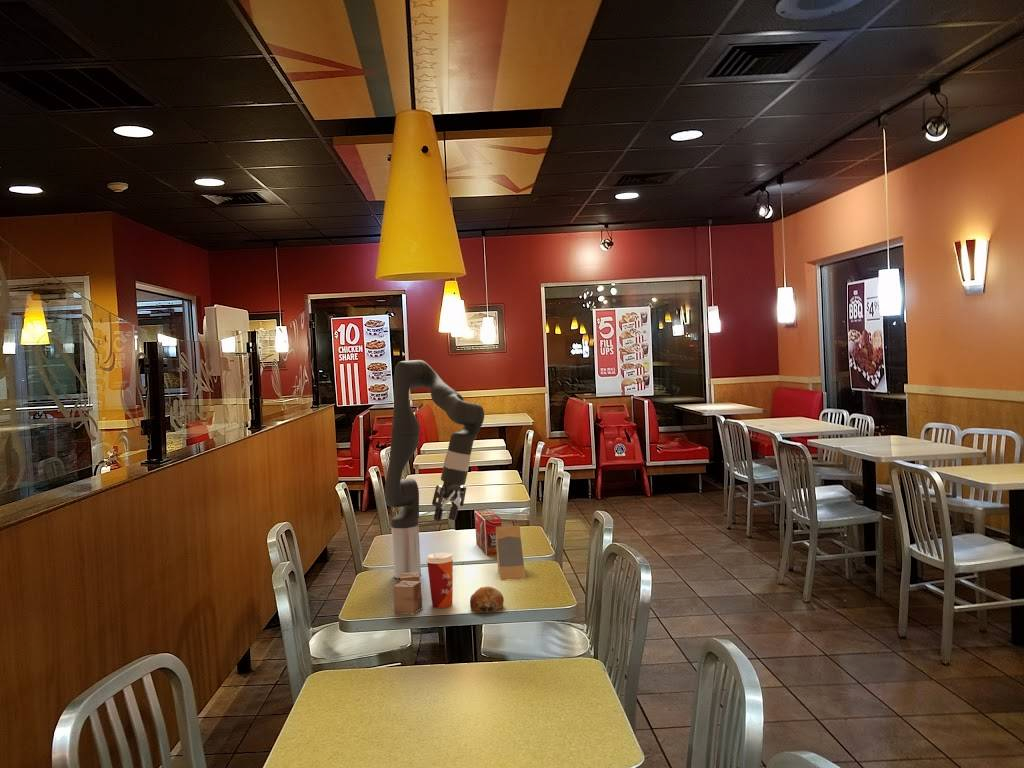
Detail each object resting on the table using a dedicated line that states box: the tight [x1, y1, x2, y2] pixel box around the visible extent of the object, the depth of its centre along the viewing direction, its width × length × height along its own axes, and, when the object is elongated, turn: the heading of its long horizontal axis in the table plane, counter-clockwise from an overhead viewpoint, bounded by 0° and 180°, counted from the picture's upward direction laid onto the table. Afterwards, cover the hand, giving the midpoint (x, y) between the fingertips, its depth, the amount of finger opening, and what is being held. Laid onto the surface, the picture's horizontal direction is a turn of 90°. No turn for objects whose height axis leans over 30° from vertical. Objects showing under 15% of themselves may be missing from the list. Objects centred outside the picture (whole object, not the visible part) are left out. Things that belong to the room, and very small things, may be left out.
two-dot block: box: [399, 572, 421, 583], centre depth 252 cm, size 6×6×8 cm
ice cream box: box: [474, 509, 502, 556], centre depth 316 cm, size 20×6×13 cm, turn 13°
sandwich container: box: [496, 525, 526, 581], centre depth 277 cm, size 9×15×15 cm, turn 5°
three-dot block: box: [393, 580, 423, 614], centre depth 242 cm, size 6×6×8 cm
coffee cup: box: [425, 552, 455, 609], centre depth 245 cm, size 8×8×15 cm
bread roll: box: [469, 586, 505, 614], centre depth 241 cm, size 10×10×8 cm
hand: (444, 520), depth 247 cm, fingers open, 8 cm apart
